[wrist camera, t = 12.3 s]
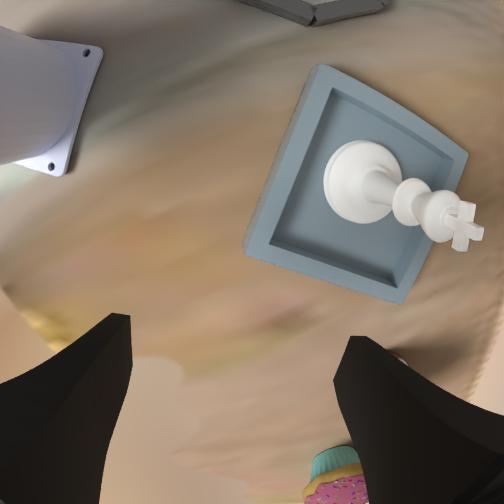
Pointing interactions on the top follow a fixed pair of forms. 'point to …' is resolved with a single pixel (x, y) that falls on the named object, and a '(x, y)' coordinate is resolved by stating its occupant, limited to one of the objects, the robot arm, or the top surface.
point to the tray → (314, 200)
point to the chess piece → (394, 195)
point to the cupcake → (336, 478)
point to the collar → (318, 9)
